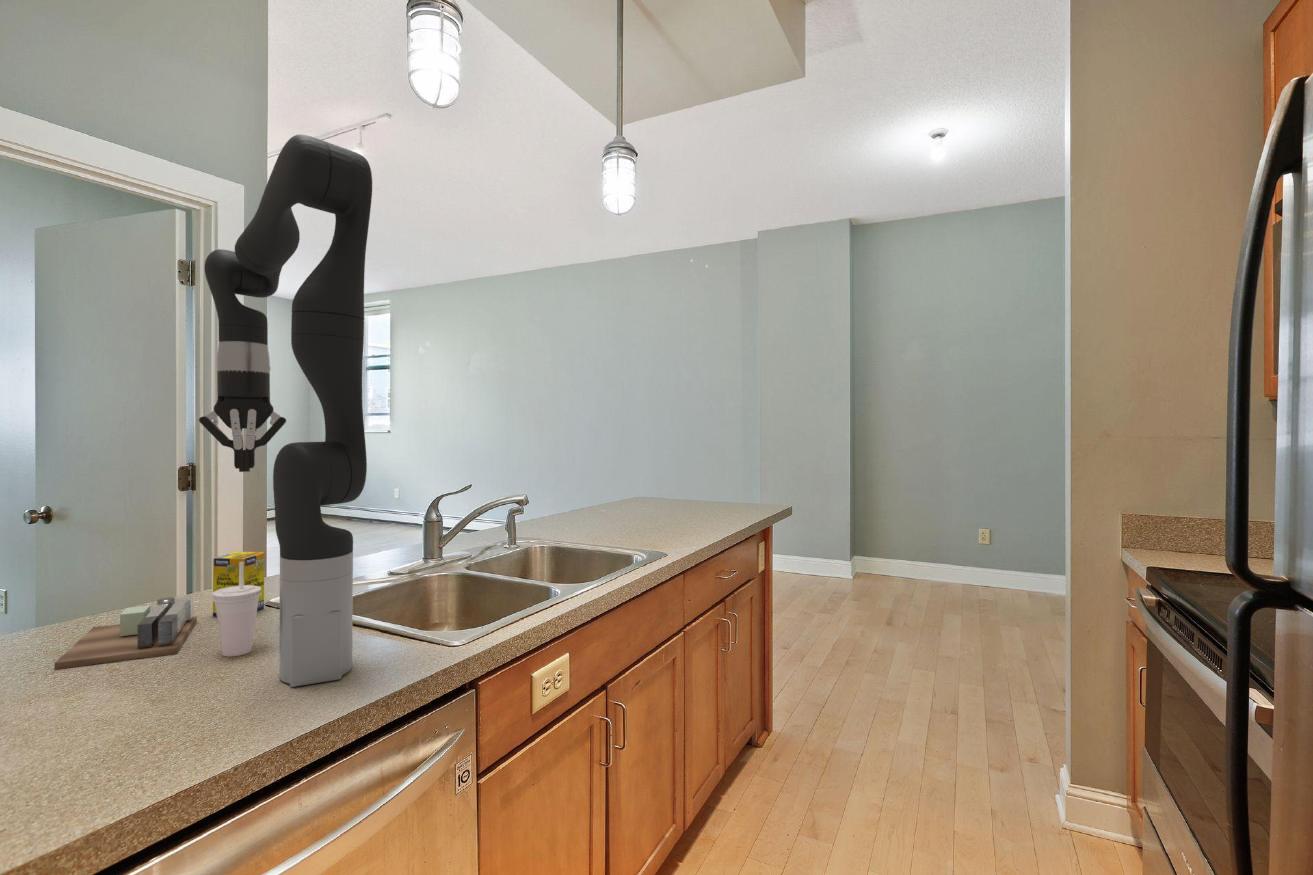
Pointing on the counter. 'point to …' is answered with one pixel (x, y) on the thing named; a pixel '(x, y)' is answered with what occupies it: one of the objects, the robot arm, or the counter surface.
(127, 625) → the tab
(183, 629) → the walnut board
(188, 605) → the fixed jaw
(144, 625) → the bar
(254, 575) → the supplement box
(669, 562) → the counter surface
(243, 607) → the smoothie
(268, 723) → the counter surface
